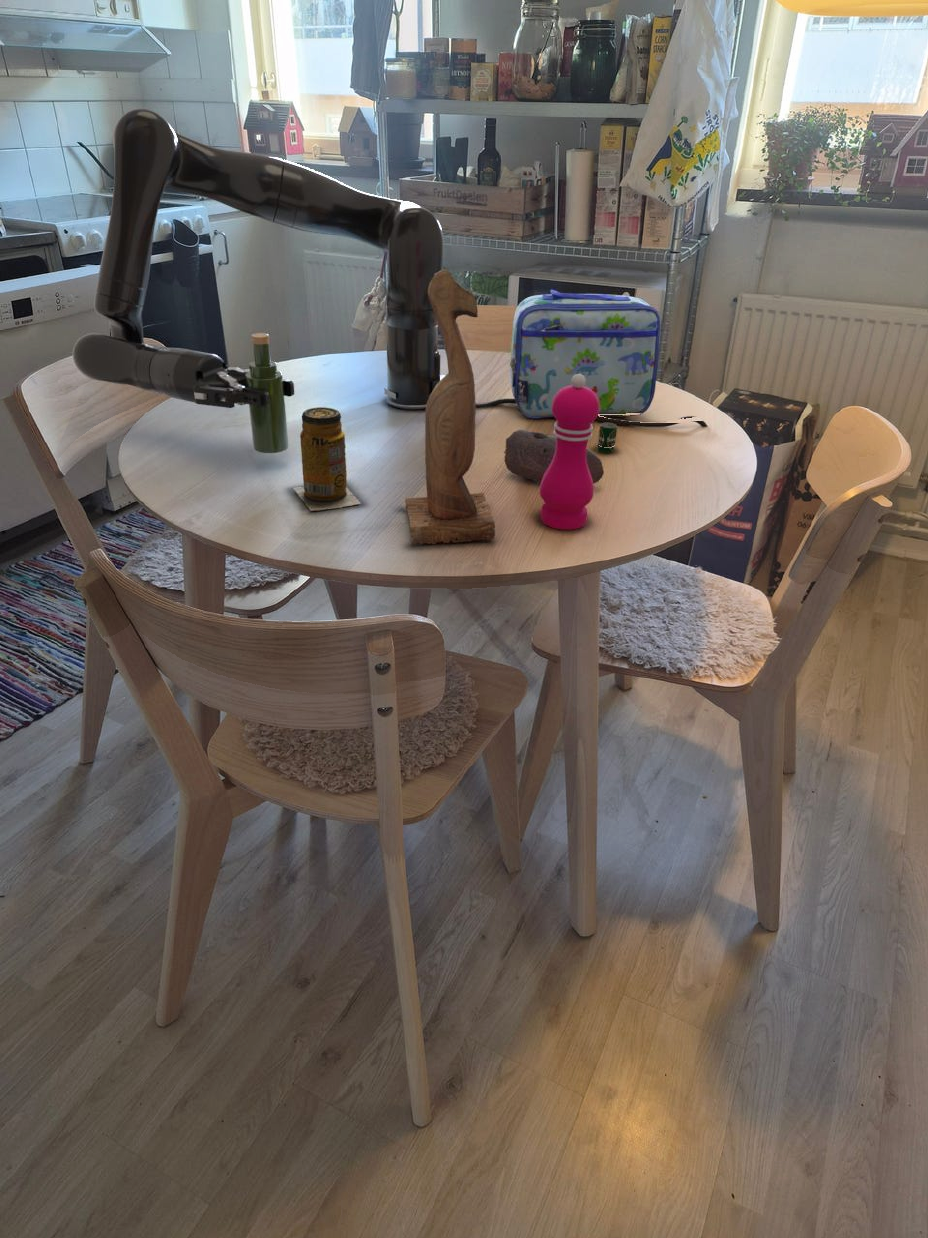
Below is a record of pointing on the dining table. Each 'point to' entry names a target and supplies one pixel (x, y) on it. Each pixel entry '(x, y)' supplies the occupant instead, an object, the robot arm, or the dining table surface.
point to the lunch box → (584, 351)
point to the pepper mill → (570, 458)
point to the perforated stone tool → (539, 455)
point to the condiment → (324, 461)
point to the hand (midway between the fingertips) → (280, 394)
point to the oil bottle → (272, 419)
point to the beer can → (607, 437)
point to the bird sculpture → (450, 433)
